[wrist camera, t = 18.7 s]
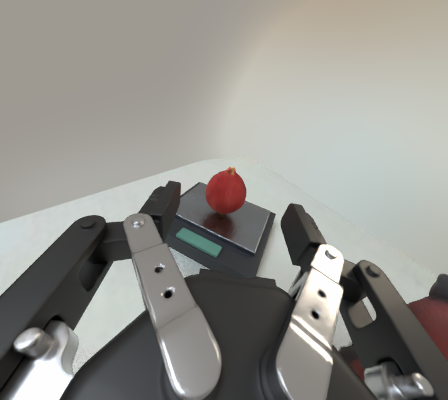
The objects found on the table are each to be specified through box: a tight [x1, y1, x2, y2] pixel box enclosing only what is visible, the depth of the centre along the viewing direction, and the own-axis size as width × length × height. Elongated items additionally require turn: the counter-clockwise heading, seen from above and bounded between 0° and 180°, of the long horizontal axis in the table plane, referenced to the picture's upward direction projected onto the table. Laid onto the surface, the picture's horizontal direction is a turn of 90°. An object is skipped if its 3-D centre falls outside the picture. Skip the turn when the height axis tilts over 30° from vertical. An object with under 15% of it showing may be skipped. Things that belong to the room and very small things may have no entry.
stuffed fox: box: [339, 274, 448, 383], centre depth 12 cm, size 8×11×12 cm
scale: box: [164, 182, 276, 279], centre depth 27 cm, size 16×14×3 cm
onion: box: [205, 167, 246, 215], centre depth 24 cm, size 6×6×8 cm
